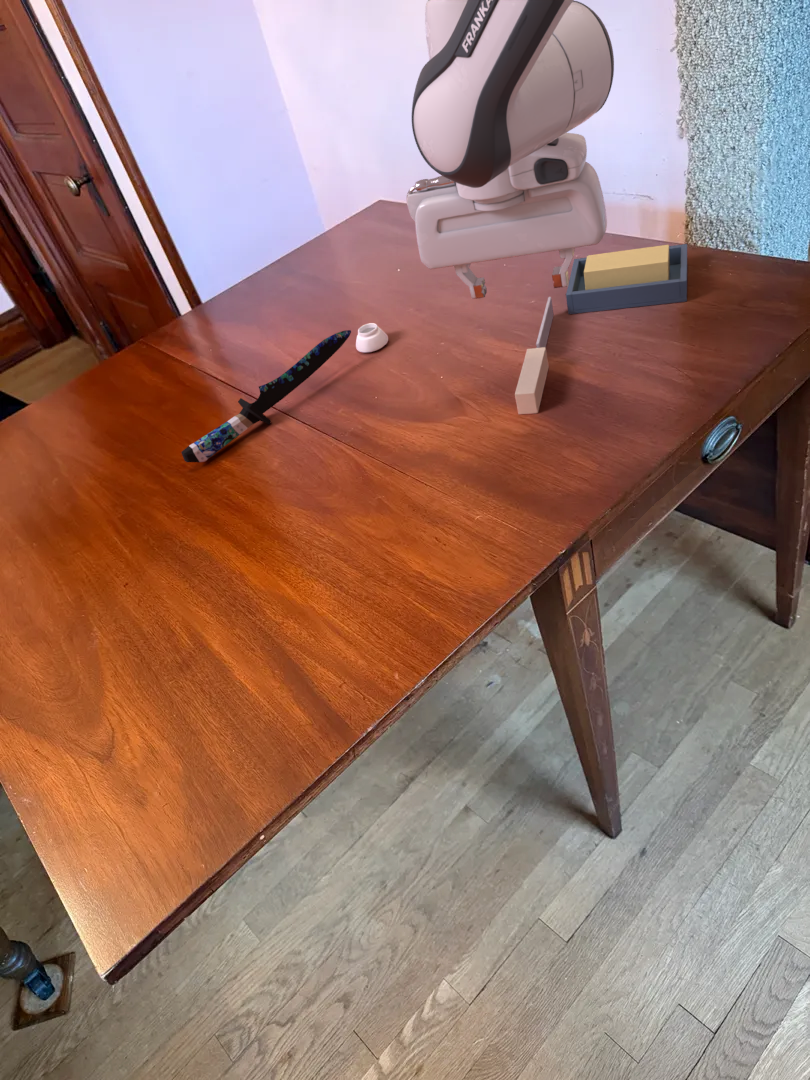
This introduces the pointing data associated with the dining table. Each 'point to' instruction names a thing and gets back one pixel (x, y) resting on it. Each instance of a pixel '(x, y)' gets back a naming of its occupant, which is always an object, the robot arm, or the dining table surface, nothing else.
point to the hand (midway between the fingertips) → (519, 290)
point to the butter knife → (534, 369)
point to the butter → (627, 267)
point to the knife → (264, 400)
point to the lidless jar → (370, 338)
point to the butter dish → (629, 288)
